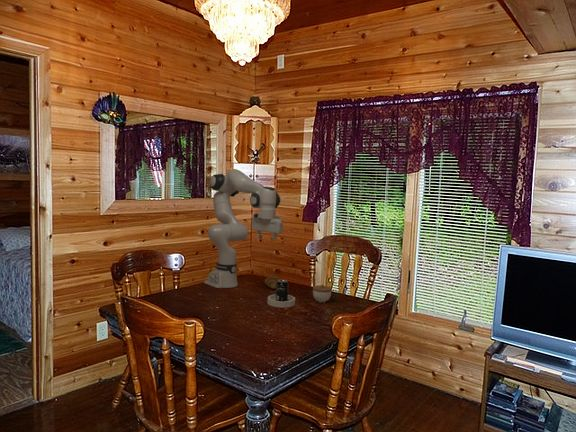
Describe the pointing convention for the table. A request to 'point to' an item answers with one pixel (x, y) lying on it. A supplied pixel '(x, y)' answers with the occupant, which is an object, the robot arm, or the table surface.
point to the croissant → (272, 281)
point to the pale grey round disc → (273, 302)
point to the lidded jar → (322, 293)
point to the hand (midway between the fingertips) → (266, 239)
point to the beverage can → (282, 290)
